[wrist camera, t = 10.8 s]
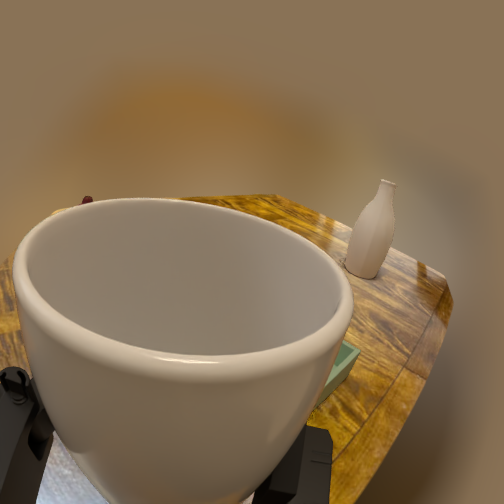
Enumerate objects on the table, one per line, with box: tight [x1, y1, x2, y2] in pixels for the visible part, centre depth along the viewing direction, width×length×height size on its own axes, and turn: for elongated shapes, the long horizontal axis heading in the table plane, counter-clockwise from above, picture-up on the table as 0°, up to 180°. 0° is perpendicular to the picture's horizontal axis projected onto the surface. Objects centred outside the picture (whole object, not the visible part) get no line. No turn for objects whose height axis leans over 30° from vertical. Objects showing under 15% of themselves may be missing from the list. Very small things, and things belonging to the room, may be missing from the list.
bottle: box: [345, 179, 397, 279], centre depth 77 cm, size 11×11×25 cm
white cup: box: [12, 198, 354, 504], centre depth 9 cm, size 7×7×15 cm
